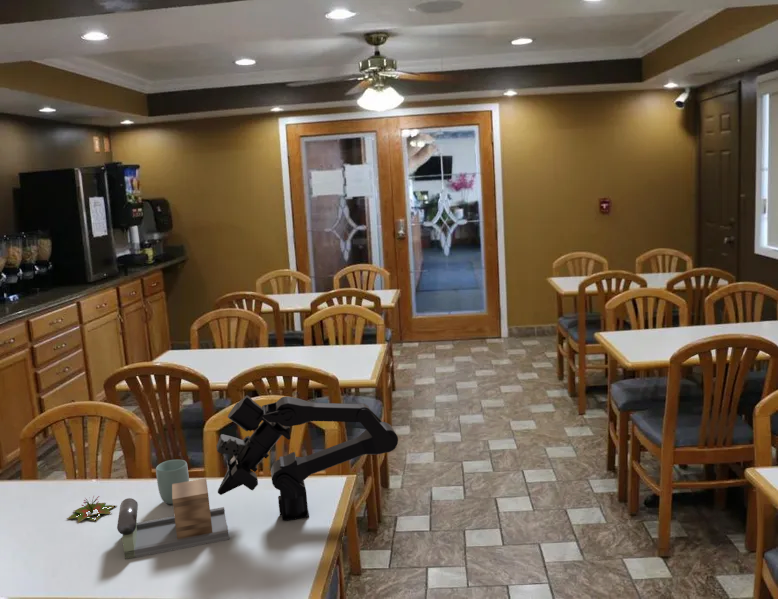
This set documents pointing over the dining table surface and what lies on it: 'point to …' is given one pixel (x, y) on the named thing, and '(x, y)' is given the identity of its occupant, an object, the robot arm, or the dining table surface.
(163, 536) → the bay
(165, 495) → the cup
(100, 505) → the lily flower
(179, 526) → the brown wooden block
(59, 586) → the dining table surface
